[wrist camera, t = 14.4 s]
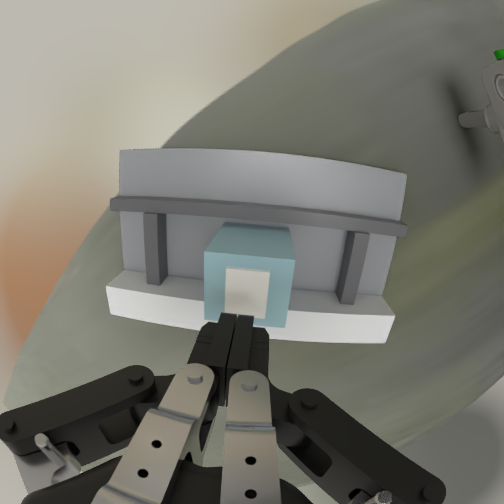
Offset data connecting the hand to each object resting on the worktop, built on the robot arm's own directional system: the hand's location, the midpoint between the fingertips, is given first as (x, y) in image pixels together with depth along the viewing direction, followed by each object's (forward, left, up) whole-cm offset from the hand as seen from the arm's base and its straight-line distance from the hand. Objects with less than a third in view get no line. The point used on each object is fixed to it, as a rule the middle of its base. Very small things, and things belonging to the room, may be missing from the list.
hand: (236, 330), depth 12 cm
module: (0, 0, -11) cm, 11 cm away
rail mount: (0, 0, -12) cm, 12 cm away
